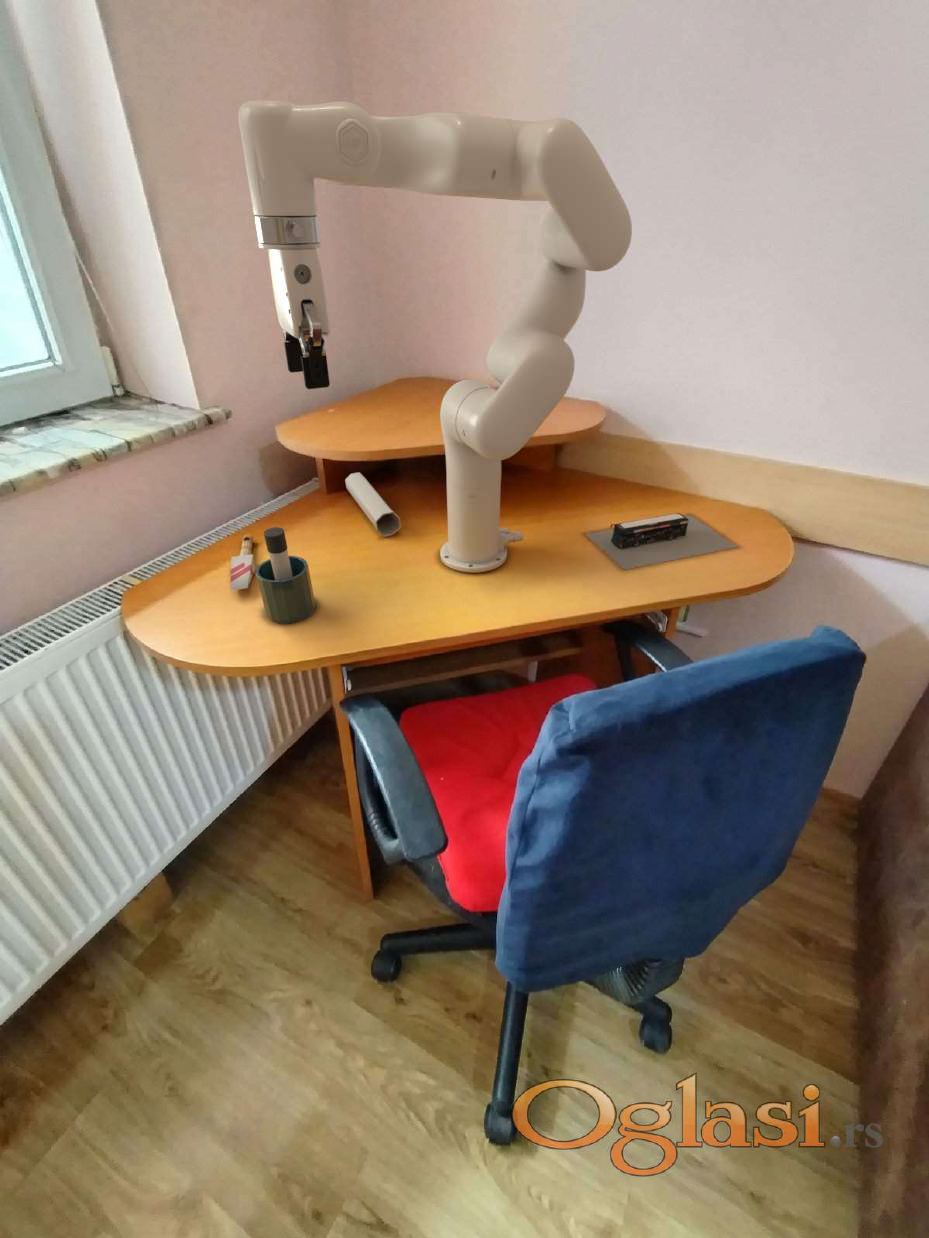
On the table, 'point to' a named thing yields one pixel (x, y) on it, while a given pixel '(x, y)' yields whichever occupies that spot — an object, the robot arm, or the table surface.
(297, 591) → the pen holder
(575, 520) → the table surface
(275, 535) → the marker
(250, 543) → the paintbrush
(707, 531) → the gray base plate
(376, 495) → the tube
